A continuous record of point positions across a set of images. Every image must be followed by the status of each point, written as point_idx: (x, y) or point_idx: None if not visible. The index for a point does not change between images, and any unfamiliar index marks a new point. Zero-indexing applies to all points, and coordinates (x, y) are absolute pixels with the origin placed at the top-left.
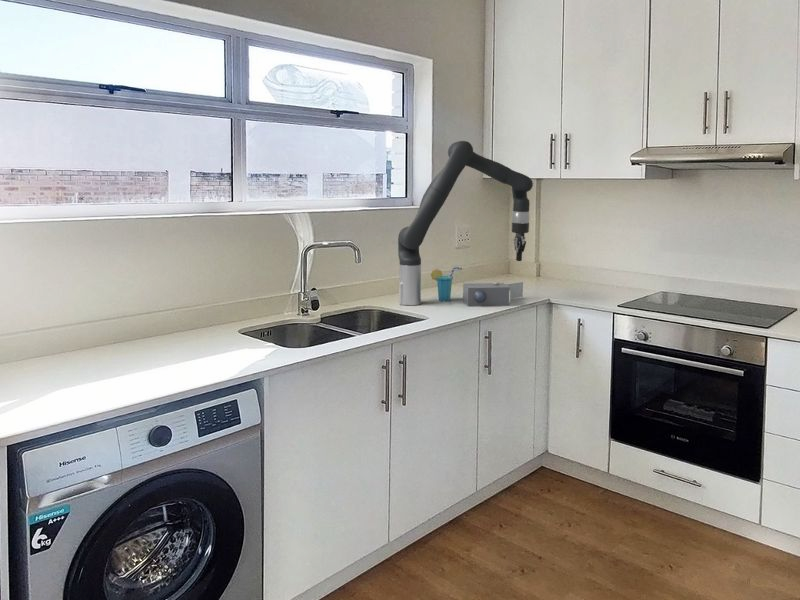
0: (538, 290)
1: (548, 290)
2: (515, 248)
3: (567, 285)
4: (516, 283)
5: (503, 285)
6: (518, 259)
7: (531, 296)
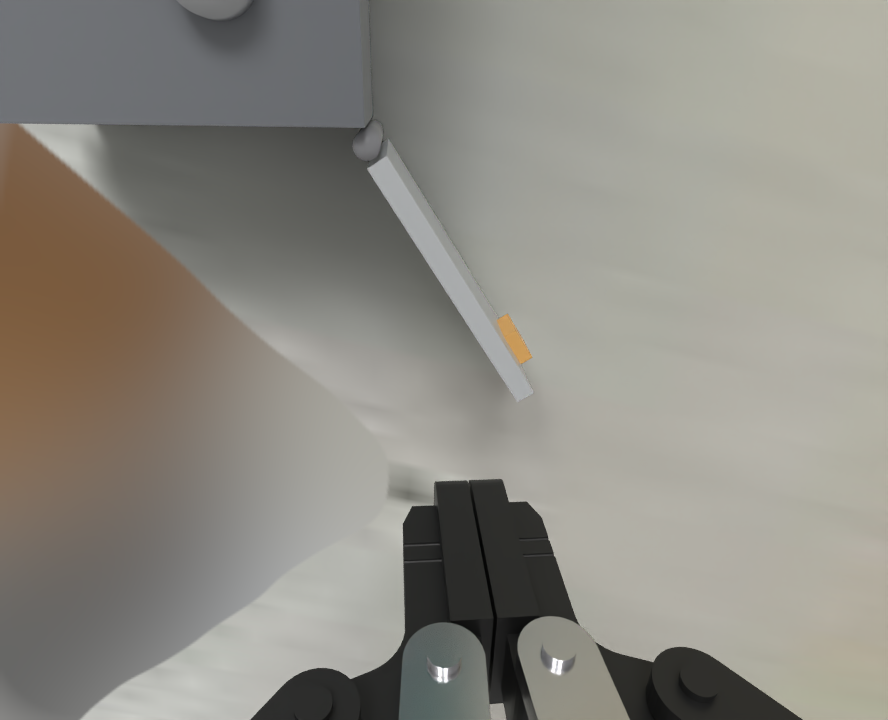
0: (771, 508)
1: (747, 562)
2: (678, 706)
3: (864, 679)
4: (463, 318)
5: (122, 66)
6: (407, 518)
7: (548, 412)
